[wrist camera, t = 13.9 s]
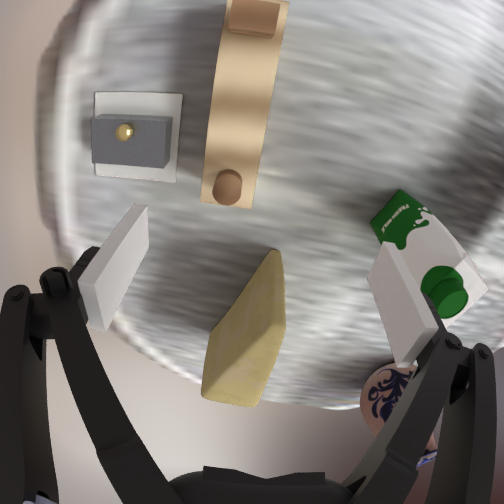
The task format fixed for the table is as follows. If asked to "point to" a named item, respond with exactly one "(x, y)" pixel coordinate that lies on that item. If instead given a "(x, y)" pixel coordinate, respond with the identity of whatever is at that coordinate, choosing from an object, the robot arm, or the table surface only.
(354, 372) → the table surface
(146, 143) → the lever cap
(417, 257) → the milk carton
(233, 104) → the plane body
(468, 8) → the table surface
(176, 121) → the mat
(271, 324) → the cheese
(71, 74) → the table surface
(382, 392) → the ceramic pitcher
